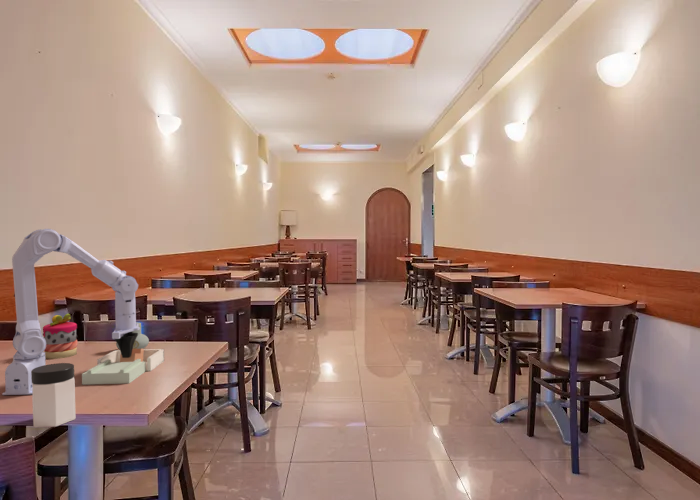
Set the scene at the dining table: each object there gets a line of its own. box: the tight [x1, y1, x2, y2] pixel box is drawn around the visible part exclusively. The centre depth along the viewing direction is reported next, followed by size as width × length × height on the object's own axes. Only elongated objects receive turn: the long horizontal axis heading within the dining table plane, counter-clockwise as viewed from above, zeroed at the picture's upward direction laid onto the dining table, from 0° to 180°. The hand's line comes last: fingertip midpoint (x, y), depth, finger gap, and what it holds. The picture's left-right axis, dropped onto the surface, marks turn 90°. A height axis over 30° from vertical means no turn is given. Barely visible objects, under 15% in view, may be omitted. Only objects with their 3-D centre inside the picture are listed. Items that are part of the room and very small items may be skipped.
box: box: [96, 348, 165, 372], centre depth 148 cm, size 12×16×4 cm
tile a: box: [120, 353, 141, 362], centre depth 147 cm, size 4×4×2 cm
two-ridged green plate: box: [81, 359, 147, 386], centre depth 136 cm, size 12×13×4 cm
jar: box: [31, 362, 76, 429], centre depth 104 cm, size 9×8×12 cm
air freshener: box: [115, 321, 150, 350], centre depth 170 cm, size 11×8×10 cm
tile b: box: [132, 348, 145, 362], centre depth 150 cm, size 4×4×2 cm
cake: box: [42, 313, 79, 360], centre depth 164 cm, size 10×11×15 cm
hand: (126, 357), depth 144 cm, fingers closed
